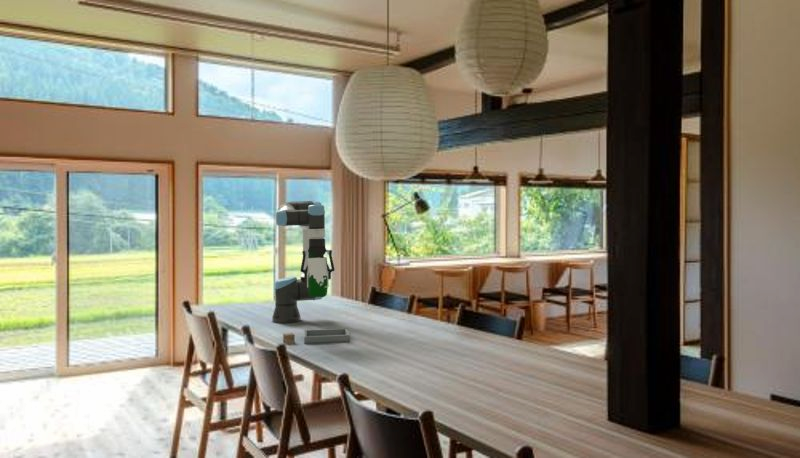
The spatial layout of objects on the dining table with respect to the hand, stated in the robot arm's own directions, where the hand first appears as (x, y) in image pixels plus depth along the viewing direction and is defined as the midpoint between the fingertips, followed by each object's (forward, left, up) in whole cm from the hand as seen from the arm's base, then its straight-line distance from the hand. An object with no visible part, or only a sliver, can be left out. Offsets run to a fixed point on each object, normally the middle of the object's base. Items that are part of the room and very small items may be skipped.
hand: (317, 286), depth 284 cm
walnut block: (+6, -14, -24) cm, 29 cm away
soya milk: (0, 0, -5) cm, 5 cm away
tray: (+2, +3, -24) cm, 25 cm away
